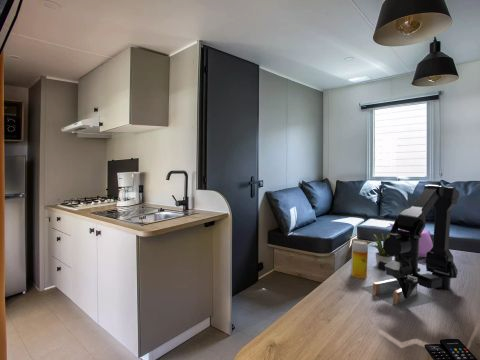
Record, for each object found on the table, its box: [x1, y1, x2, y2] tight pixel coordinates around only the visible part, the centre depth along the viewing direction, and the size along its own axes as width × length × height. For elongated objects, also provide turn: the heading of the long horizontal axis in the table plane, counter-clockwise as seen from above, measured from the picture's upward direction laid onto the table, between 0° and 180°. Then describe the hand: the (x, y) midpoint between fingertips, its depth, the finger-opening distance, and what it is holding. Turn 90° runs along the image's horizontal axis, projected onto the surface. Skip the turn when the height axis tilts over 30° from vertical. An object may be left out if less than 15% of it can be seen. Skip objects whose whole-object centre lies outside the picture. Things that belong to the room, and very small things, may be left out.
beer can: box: [350, 240, 369, 279], centre depth 117 cm, size 6×6×15 cm
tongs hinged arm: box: [393, 284, 418, 305], centre depth 99 cm, size 18×5×4 cm, turn 125°
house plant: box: [368, 232, 394, 267], centre depth 127 cm, size 14×14×16 cm
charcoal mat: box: [360, 284, 438, 311], centre depth 101 cm, size 18×17×1 cm
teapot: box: [389, 223, 433, 258], centre depth 152 cm, size 23×21×15 cm
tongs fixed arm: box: [372, 278, 401, 297], centre depth 102 cm, size 13×1×4 cm, turn 113°
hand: (406, 298), depth 93 cm, fingers closed
